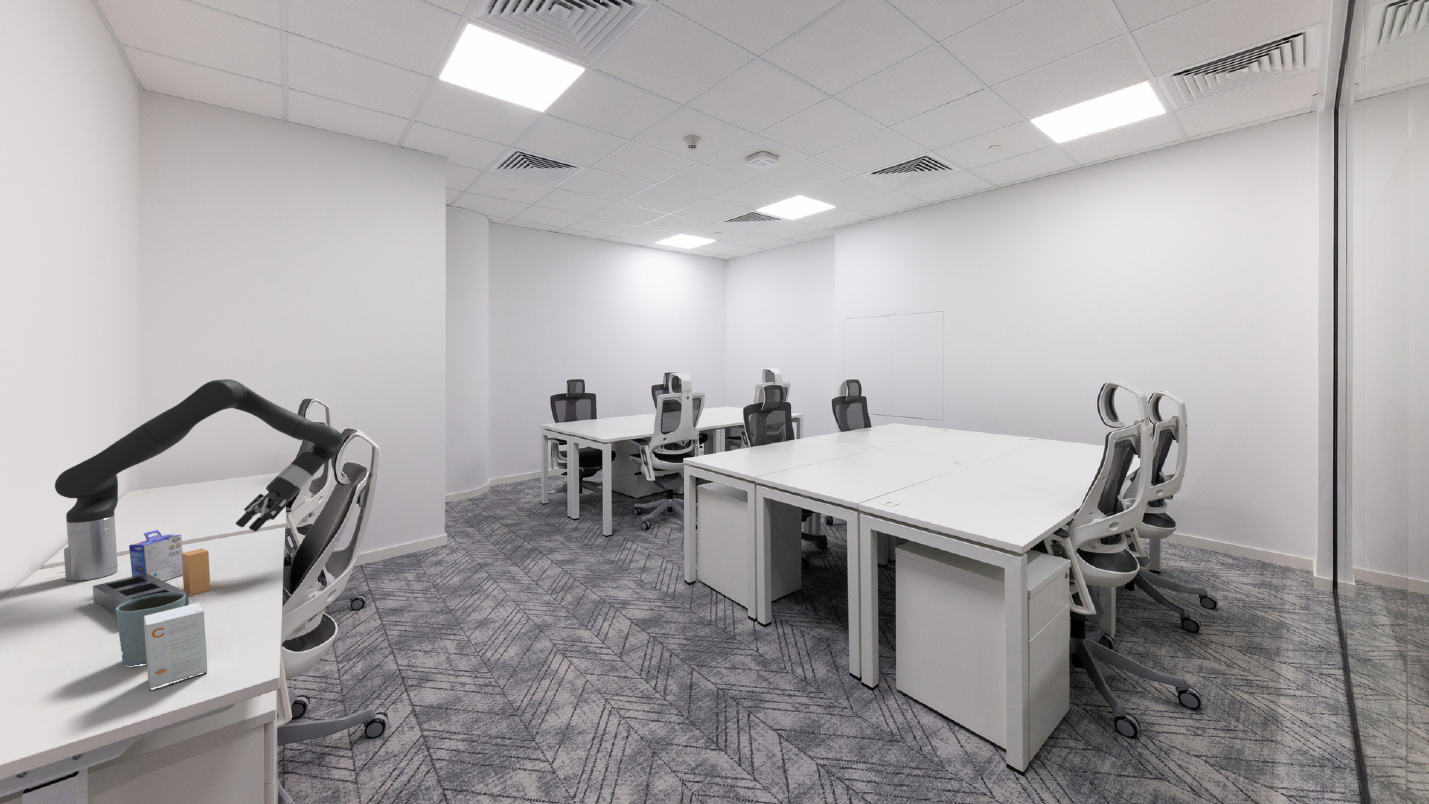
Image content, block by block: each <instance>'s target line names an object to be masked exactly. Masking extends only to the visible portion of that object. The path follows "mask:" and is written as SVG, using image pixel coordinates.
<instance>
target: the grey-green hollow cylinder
mask: <svg viewBox="0 0 1429 804" xmlns="http://www.w3.org/2000/svg"><path fill="white" fill-rule="evenodd" d="M185 597H186V595H185V594H184V593H181V592H167V593H159V594H153V595H148V596H143V597H140V598H136V599H133V600H130V601H127V602H125V603H122V604H121V605H119V606H118V607H117V608H116V609H115V610H116V616H117V617H116V616H115V617H116V620H117V621H116V622H117V626H118V633H119V634H118V637H119V643H120V644H119V646H120V651H121V653H122V654H121V659H122V664H123V666H124V665H127V666H134V665H140V664H147V660H146V645H145V630H144V616H146V615H150V614H154V613H158V612H163V611H167V610H171V609H175V608H179V607H183V606H185Z"/></svg>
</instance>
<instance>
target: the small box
mask: <svg viewBox="0 0 1429 804" xmlns="http://www.w3.org/2000/svg"><path fill="white" fill-rule="evenodd" d="M144 630H145V645H146V660H147V665H146V668H147V669H146V670H147V671H146V672H147V680H148V681H147V682H148V686H149V687H150V688H149V690H150V689H151V688H154V687H158V686H161V685H163V684H166V683H170V682H174V681H177V680H180V679H185V678H189V677H190V676H195V675H198V674H200V673H205V672H207V673H208V658H207V657H208V656H207V640H206V639H207V637H206V624H205V611H204V610H203V608H202V605H201V603H200V602H196V603H193V604H189V605H187V606H183V607H179V608H175V609H171V610H167V611H163V612H158V613H154V614H150V615H146V616H144Z"/></svg>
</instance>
